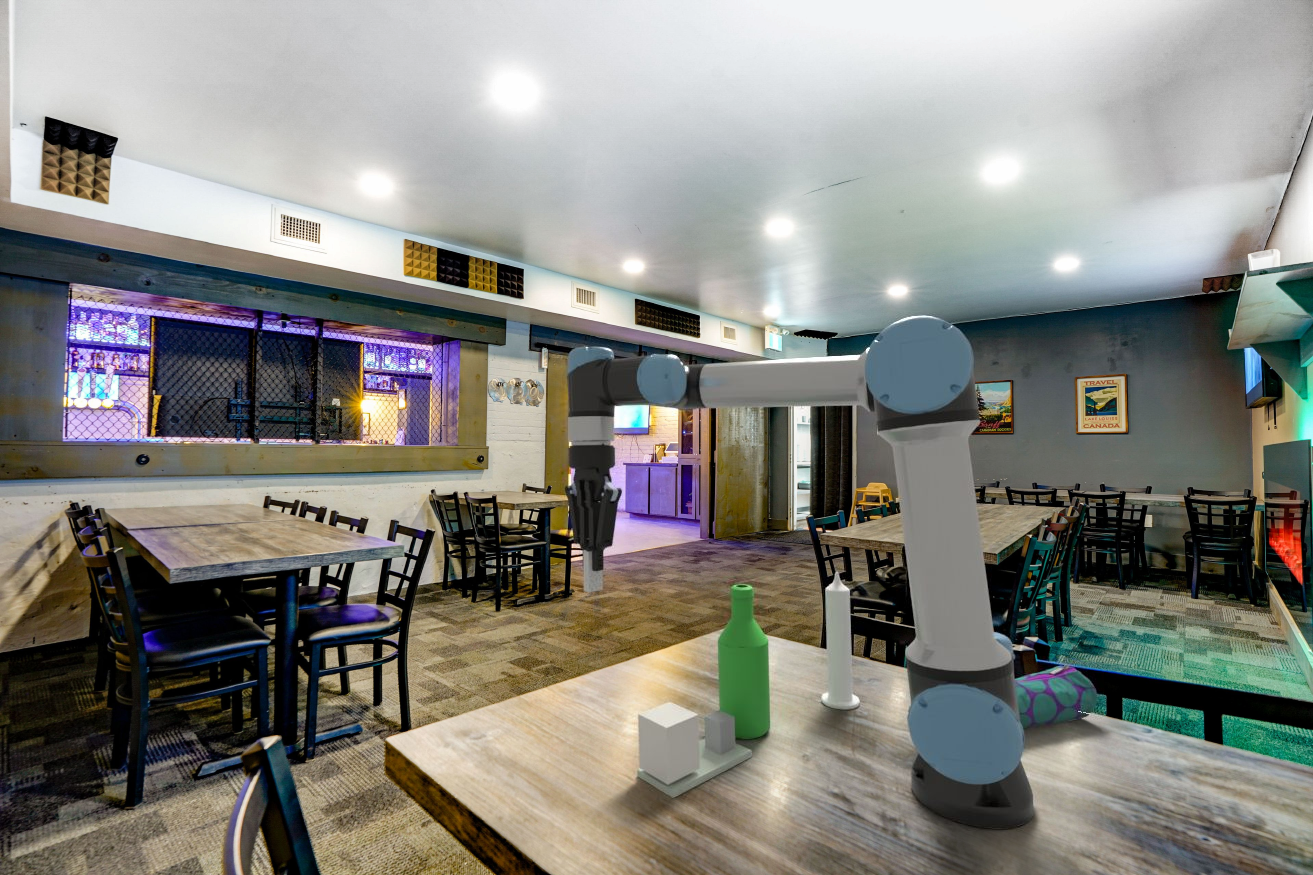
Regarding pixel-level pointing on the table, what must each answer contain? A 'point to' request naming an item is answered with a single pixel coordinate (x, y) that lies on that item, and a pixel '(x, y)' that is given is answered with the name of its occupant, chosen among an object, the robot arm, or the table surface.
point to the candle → (839, 648)
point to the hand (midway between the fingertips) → (593, 589)
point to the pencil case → (1054, 696)
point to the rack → (707, 755)
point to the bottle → (744, 668)
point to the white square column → (668, 742)
